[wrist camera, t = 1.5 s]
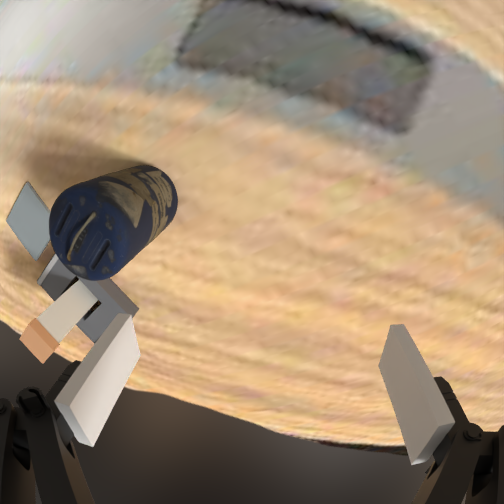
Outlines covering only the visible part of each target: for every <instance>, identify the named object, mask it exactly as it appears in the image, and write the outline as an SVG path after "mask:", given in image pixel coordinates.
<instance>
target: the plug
mask: <svg viewBox="0 0 504 504" xmlns="http://www.w3.org/2000/svg"><path fill="white" fill-rule="evenodd" d="M97 301H98V299H97V298H96V297H95V296H94V295H93V294H92V293H91V291H90V290H89V289H88V288H87V287H86V286H85V285H84V284H83V283H82V282H81V280H80V279H79V280H78V281H77V282H76V283H75V284H74V285H72V286H71V287H70V288H69V289H68V290H67V291H66V292H65V293H63V294H62V295H61V296H60V297H59V298H58V299H57V300H56V301H55V302H54V303H52V304H51V305H50V306H49V307H48V308H47V309H46V310H45V311H44V312H43V313H42V314H41V315H40V316H38V317H37V318H35V319H33V320H32V321H31V322H30V323H29V324H28V326H27V328H26V329H25V331H24V332H23V334H22V336H21V337H20V340H21V341H22V342H23V343H24V345H25V346H26V347H27V348H28V349H29V350H30V351H31V352H32V353H33V354H34V355H35V356H36V357H37V358H38V359H39V360H40V362H42V364H43V363H44V362H45V361H46V360H47V358H48V357H49V356H50V355H51V354H52V353H53V352H54V351H55V349H56V348H57V347H58V346H59V345H60V344H59V343H60V342H61V341H62V339H63V338H64V337H65V336H66V335H67V334H68V333H69V331H70V330H71V329H72V328H73V327H74V326H75V325H76V324H77V322H78V321H79V320H80V319H81V318H82V317H83V316H84V315H85V314H86V313H87V311H88V310H89V309H90V308H91V307H92V306H93V305H94V304H95V303H96V302H97Z"/></svg>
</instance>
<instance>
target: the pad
mask: <svg viewBox="0 0 504 504" xmlns="http://www.w3.org/2000/svg"><path fill="white" fill-rule="evenodd" d="M50 213H51V212H50V210H49V209H48V208H47V206H46V205H45V204H44V202H43V201H42V200H41V198H40V197H39V196H38V194H37V193H36V191H35V190H34V189H33V187H32V186H31V185H30V183H29V182H26V184H25V186H24V188H23V189H22V191H21V193H20V195H19V197H18V199H17V201H16V202H15V204H14V206H13V208H12V210H11V212H10V214H9V216H8V218H7V220H6V222H7V223H8V225H9V226H10V227H11V229H12V230H13V232H14V233H15V234H16V236H17V237H18V239H19V240H20V241H21V243H22V244H23V245H24V247H25V248H26V249H27V251H28V252H29V253H30V255H31V256H32V257H33V258H34V260H35V261H37V260H38V259H39V257H40V255H41V254H42V252H43V251H44V249H45V247H46V246H47V244H48V243H49V241H50V235H49V216H50Z"/></svg>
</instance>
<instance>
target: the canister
mask: <svg viewBox="0 0 504 504" xmlns="http://www.w3.org/2000/svg"><path fill="white" fill-rule="evenodd" d="M177 204H178V198H177V192H176V189H175V186H174V184H173V182H172V181H171V179H170V178H169V177H168V176H167V175H166V174H165V173H164V172H163V171H161V170H159V169H158V168H155V167H152V166H136V167H132V168H129V169H125V170H122V171H118V172H115V173H110V174H107V175H104V176H100V177H98V178H95V179H92V180H89V181H86V182H82V183H79V184H76V185H74V186H72V187H70V188H68V189H66V190H65V191H64V192H62V193H61V194H60V195H59V197H58V198H57V199H56V201H55V202H54V204H53V206H52V209H51V213H50V216H49V235H50V240H51V244H52V247H53V249H54V251H55V253H56V255H57V257H58V258H59V260H60V261H61V262H62V264H63V265H64V266H65V267H66V268H67V269H68V270H69V271H70V272H72V273H73V274H74V275H76V276H78V277H80V278H83V279H86V280H90V281H99V280H104V279H108V278H110V277H112V276H113V275H115V274H116V273H118V272H119V271H120V270H121V269H122V268H123V267H124V266H125V265H126V264H127V263H128V262H129V261H131V260H132V259H133V258H134V257H135V256H136V255H137V254H138V253H139V252H140V251H141V250H142V249H143V248H145V247H146V246H147V245H148V244H149V243H150V242H152V241H153V240H154V239H155V238H156V237H157V236H158V235H159V234H160V233H161V232H162V231H163V230H164V229H165V228H166V227H167V226H168V225H169V224H170V223H171V222H172V220H173V218H174V216H175V214H176V210H177Z"/></svg>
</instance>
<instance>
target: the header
mask: <svg viewBox="0 0 504 504" xmlns="http://www.w3.org/2000/svg"><path fill="white" fill-rule="evenodd" d="M77 277H78V276H76V275H74V274H73V273H72V272H70V271H69V270H68V269H67V268H66V267H65V266H64V265H63V264H62V262H61V261H60V260H59V258H58V257H57V255H56V253H55V254H54V256H53V257H52V259H51V260H50V262H49V263H48V265H47V266H46V268H45V269H44V271H43V272H42V274H41V276H40V277H39V279H38V280H37V283H38V285H39V286H40V285H41V286H42V287H43V289H44V290H45V291H46V292H47V293H48V294H49V296H50V297H51V298H52V299H53V300H54V301H56V300H57V299H58V298H59V297H60V296H61V295H62V294H63V293H65V292H66V291H67V290H68V289H69V288H70V285H71V284H72V283H73V282H74V280H75V279H76V278H77ZM78 278H79V279H80V280H81V282H82V283H83V284H84V285H85V286H86V287H87V288H88V289H89V290H90V291H91V293H92V294H93V295H94V296H95V297H96V298H97V299H98V300H99V301H100V302H101V304H100V305H99V306H98V307H97V308H96V309H95V310H94V311H93V312H92V311H91V310H90V309H89V310H88V311H87V313H86V314H85V315H84V316H83V317H82V318H81V319H80V320H79V321H78V322H77V324H76V325H77V326H78V327H79V328H80V329H81V330H82V331H83V332H84V333H85V334H86V335H87V336H88V337H89V338H90V339H91V340H92V341H93V342H94V343H96V342H97V340H98V339H99V338H100V336H101V335H102V334H103V332H104V331H105V330H106V328H107V327H108V326H109V325H110V323H111V322H112V321H113V319H114V318H115V317H116V315H117V314H118V313H124V314H131V315H132V318H133V317H134V315H135V314H136V312H137V311H138V310H139V308H138V307H137V306H136V305H135V304H134V303H133V302H132V301H131V300H130V299H129V298H128V297H127V296H126V295H125V294H124V293H123V292H122V291H121V290H120V288H119V287H118V286H117V285H116V284H115V283H114V282H113V281H112V280H111V279H110V278H108V279H104V280H99V281H90V280H86V279H83V278H80V277H78Z"/></svg>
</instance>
